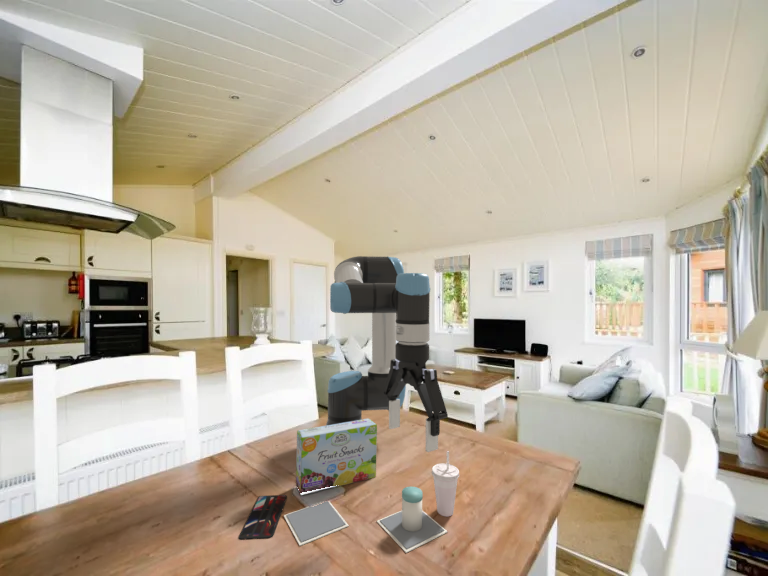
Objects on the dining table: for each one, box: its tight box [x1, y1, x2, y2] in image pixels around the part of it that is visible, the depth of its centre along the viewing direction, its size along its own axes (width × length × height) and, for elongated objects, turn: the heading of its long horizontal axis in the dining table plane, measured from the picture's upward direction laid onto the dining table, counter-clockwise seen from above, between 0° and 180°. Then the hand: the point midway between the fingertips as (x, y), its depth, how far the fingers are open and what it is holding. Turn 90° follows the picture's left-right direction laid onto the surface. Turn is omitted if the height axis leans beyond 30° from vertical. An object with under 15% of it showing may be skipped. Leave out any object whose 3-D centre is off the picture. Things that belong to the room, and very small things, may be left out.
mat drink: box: [376, 509, 448, 554], centre depth 74 cm, size 11×11×1 cm
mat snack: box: [283, 500, 349, 547], centre depth 76 cm, size 11×11×1 cm
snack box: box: [295, 418, 378, 494], centre depth 92 cm, size 21×6×15 cm, turn 117°
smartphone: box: [238, 494, 288, 541], centre depth 78 cm, size 7×1×15 cm
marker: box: [401, 486, 424, 532], centre depth 75 cm, size 4×4×7 cm
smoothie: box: [431, 450, 460, 517], centre depth 80 cm, size 6×6×14 cm
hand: (411, 438), depth 76 cm, fingers open, 13 cm apart
